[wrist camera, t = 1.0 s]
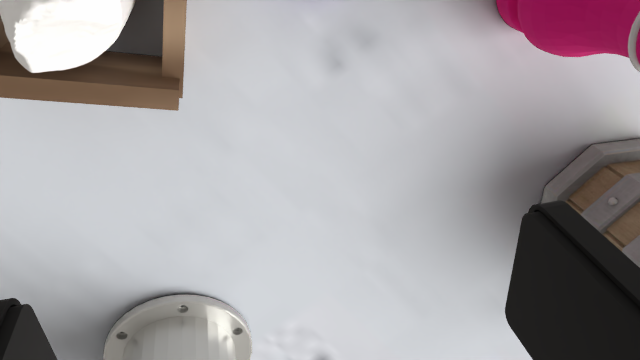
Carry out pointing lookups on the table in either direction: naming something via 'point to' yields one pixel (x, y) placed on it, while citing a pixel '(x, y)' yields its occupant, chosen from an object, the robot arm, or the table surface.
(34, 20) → the white tall rounded lump
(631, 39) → the pepper mill
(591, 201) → the mortar and pestle
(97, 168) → the table surface
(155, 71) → the rack
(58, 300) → the table surface
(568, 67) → the table surface
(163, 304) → the robot arm
